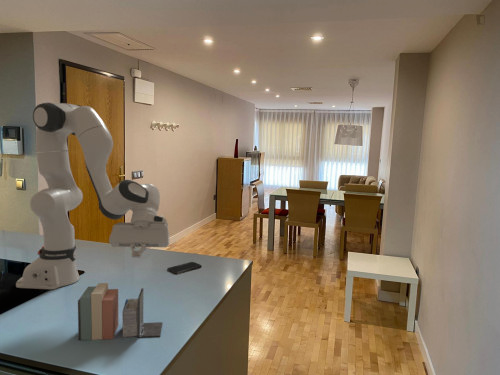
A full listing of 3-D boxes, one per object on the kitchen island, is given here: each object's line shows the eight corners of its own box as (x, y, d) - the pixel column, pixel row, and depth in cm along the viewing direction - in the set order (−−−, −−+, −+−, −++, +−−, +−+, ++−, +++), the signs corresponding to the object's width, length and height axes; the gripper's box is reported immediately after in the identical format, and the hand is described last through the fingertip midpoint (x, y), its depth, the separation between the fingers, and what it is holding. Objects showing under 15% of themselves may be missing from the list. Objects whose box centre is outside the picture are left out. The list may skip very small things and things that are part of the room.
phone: (202, 265, 169) (175, 272, 158) (202, 268, 169) (175, 275, 158) (192, 261, 174) (166, 268, 164) (192, 263, 175) (166, 270, 164)
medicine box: (138, 336, 107) (138, 309, 106) (122, 337, 106) (122, 310, 105) (140, 323, 115) (140, 298, 114) (125, 324, 114) (125, 298, 113)
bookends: (78, 340, 104) (77, 301, 103) (86, 326, 112) (86, 289, 110) (160, 336, 108) (160, 298, 106) (162, 323, 116) (162, 287, 114)
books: (80, 340, 104) (80, 294, 102) (88, 326, 112) (88, 283, 110) (112, 338, 106) (112, 293, 104) (118, 325, 113) (118, 282, 112)
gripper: (112, 217, 127) (102, 251, 118) (170, 218, 128) (165, 252, 119) (116, 227, 131) (107, 261, 122) (172, 228, 133) (167, 261, 124)
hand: (136, 256), depth 121 cm, fingers closed
